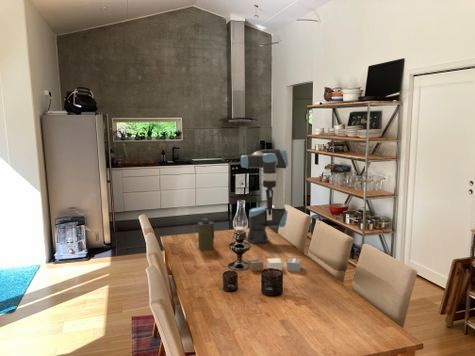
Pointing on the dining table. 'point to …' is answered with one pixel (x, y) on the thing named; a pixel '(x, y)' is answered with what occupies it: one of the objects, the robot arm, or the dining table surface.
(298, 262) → the grey block
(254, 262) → the walnut block
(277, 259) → the plain block
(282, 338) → the dining table surface
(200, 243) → the canister
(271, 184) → the robot arm
